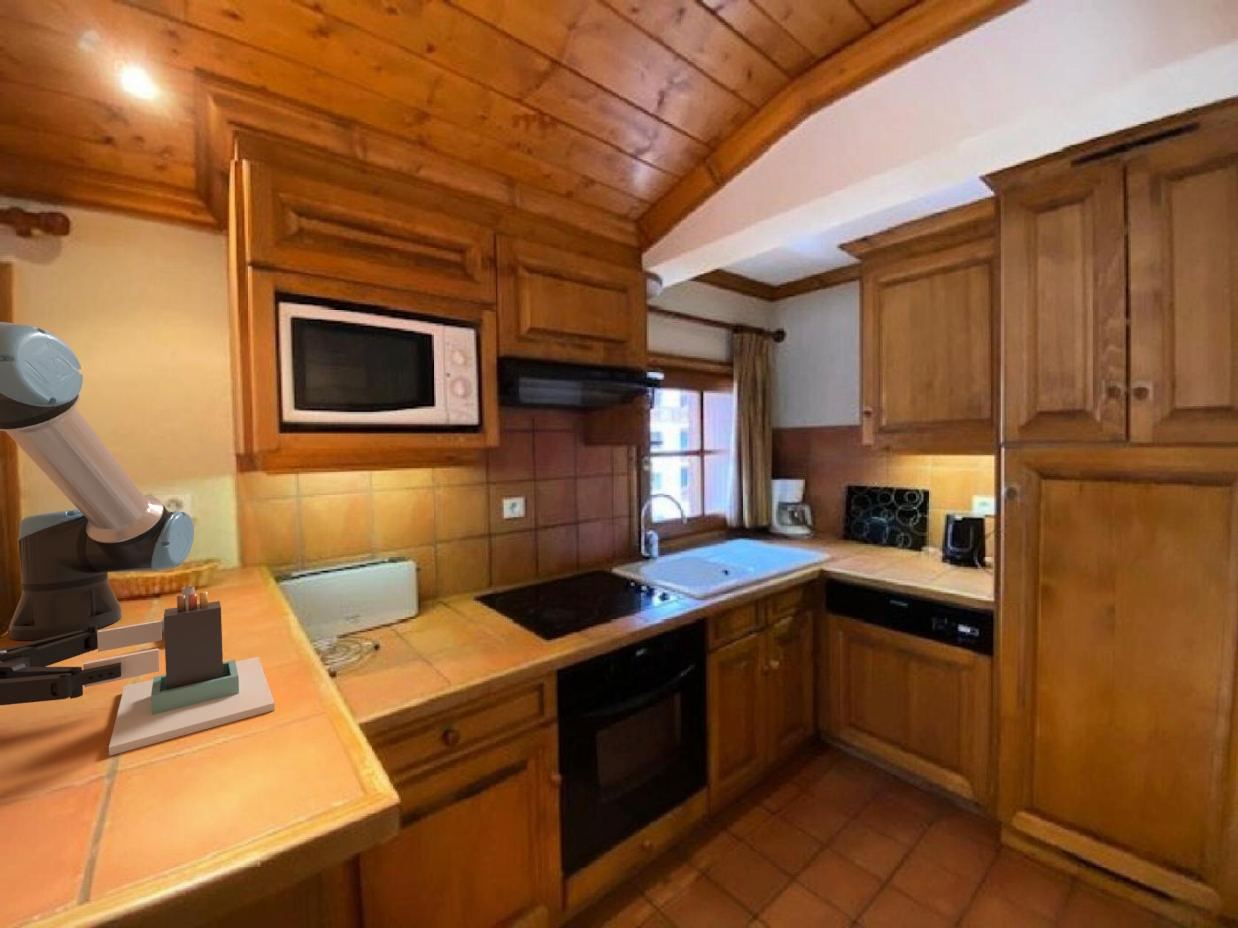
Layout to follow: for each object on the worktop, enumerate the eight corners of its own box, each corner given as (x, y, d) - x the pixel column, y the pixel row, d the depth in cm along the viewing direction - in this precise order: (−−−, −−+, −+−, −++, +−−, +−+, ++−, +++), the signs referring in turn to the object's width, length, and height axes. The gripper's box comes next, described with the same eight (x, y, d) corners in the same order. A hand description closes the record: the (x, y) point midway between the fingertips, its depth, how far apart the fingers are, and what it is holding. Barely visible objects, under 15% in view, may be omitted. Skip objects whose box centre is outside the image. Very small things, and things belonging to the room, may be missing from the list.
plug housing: (168, 694, 72) (164, 594, 72) (222, 682, 76) (219, 587, 76) (167, 705, 69) (163, 601, 69) (223, 692, 73) (220, 593, 73)
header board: (124, 692, 75) (123, 668, 75) (258, 662, 86) (258, 641, 85) (109, 755, 60) (107, 725, 60) (274, 710, 70) (273, 684, 70)
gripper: (-60, 686, 66) (163, 644, 80) (-156, 784, 47) (158, 706, 61) (-63, 627, 66) (161, 595, 79) (-161, 702, 47) (156, 643, 60)
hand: (160, 643), depth 70 cm, fingers open, 13 cm apart
